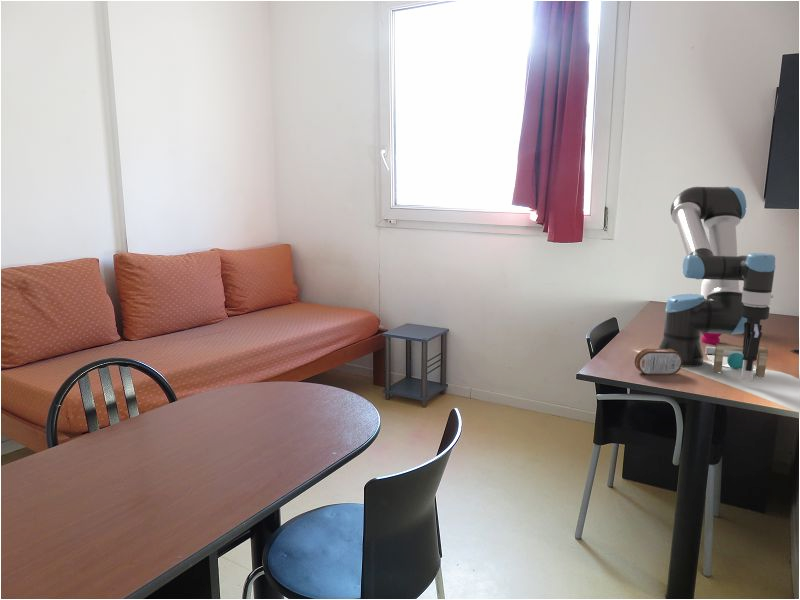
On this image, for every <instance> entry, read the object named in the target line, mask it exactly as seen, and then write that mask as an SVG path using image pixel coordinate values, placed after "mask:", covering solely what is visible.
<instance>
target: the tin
mask: <svg viewBox="0 0 800 600" xmlns="http://www.w3.org/2000/svg"><path fill="white" fill-rule="evenodd" d="M682 363H683V360H682V357H681V355H680V354H679V353H677V352H676V351H675V350H673V349H658V348H645V349H642V350H640V351H639V352H638V353H637V354H636V356H635V358H634V366H635V369H637V370H638V371H639V372H640V373H641V374H644V375H647V376H648V375H650V376H651V375H652V376H661V375H662V376H671V375H675V374H677V373H678V372H679V371H680V370H681V369H682V367H683V366H682Z"/></svg>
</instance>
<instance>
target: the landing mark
mask: <svg viewBox="0 0 800 600" xmlns="http://www.w3.org/2000/svg"><path fill="white" fill-rule="evenodd" d="M706 356H707V360H708V361H709V363H710V362H712V363H714V358H715V355H708V354H706ZM728 357H729V356H723V362H722V365H726V363H728V362H727V359H728ZM710 360H712V361H710ZM756 366H757V365H755V364H754V368H753V369H756Z"/></svg>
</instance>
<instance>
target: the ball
mask: <svg viewBox="0 0 800 600" xmlns="http://www.w3.org/2000/svg"><path fill="white" fill-rule="evenodd" d="M727 357H728V359H727V362H728V365H729V366H730V367H731V369H733V368H734V370H740V369H741V368H742V367H743V359H742V357H743V355H742V354H740V353H732V354H731V355H729V356H727ZM730 367H729V368H730ZM741 370H742V369H741Z"/></svg>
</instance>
